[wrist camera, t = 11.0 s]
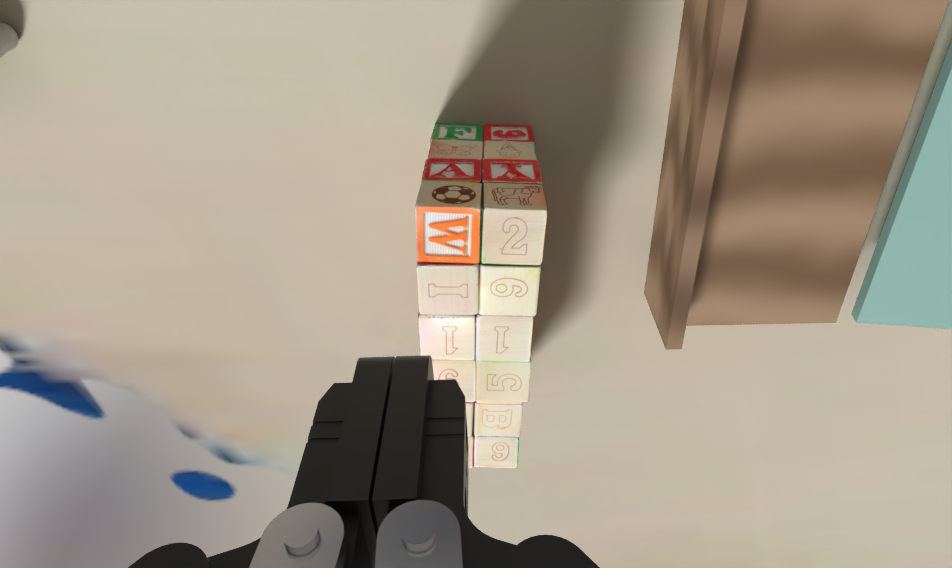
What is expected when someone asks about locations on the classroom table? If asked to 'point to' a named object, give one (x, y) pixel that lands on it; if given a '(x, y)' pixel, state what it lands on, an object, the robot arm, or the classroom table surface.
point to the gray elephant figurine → (7, 38)
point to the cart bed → (778, 154)
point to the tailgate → (917, 229)
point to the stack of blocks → (481, 275)
